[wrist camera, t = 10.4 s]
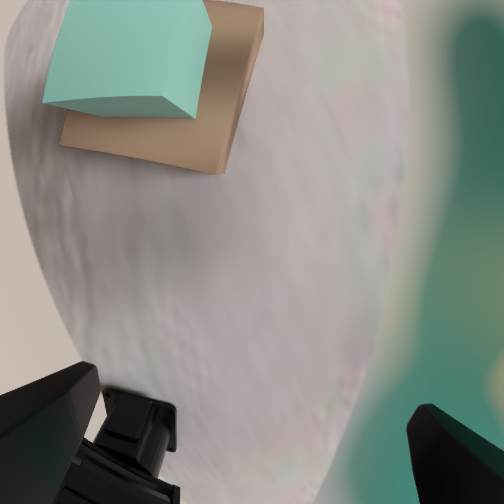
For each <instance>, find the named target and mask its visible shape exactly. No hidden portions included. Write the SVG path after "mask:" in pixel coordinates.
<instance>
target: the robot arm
mask: <svg viewBox="0 0 504 504" xmlns="http://www.w3.org/2000/svg"><path fill="white" fill-rule="evenodd" d="M108 393H109V394H108ZM99 395H100V382H99V376H98V370H97V367H96V366H95V365H94V364H91V363H88V362H85V361H81V362H79V363H76V364H74V365H72V366H69V367H67V368H65V369H63V370H60V371H58V372H56V373H53V374H51V375H48V376H46V377H44V378H41V379H39V380H36V381H34V382H32V383H30V384H27V385H24V386H22V387H20V388H17V389H15V390H12V391H10V392H7V393H5V394H2V395H0V504H180V487H178V486H176V485H171V484H169V483H167V482H164V481H162V480H160V479H158V475H159V472H160V469H161V465H162V462H163V459H164V456H165V452H166V451H169V452H175V451H176V448H177V410H176V408H175V406H173V405H170V404H166V403H161V402H157V401H153V400H149V399H145V398H141V397H138V396H134V395H130V394H127V393H123V392H120V391H117V390H113V389H110V388H105V389H104V391H103V398H104V403H105V408H106V413H107V417H106V419H105V421H104V423H103V425H102V426H101V428H100V430H99V432H98V434H97V436H96V437H95V439H94V441H93V443H92V442H90V441H88V440H87V439H86V438H84V434H85V432H86V429H87V427H88V424H89V421H90V419H91V416H92V413H93V411H94V408H95V405H96V403H97V400H98V397H99ZM170 410H171V411H170ZM406 431H407V437H408V444H409V450H410V457H411V465H412V471H413V475H414V480H415V484H416V489H417V493H418V497H419V502H420V504H504V451H503V450H501V449H500V448H498V447H497V446H495V445H494V444H492V443H490V442H489V441H487V440H486V439H484V438H483V437H481V436H480V435H478V434H477V433H475V432H474V431H472V430H471V429H469V428H468V427H466V426H465V425H463V424H462V423H460V422H459V421H457V420H455V419H454V418H453V417H451V416H450V415H448V414H447V413H445V412H444V411H442V410H441V409H439V408H438V407H436V406H435V405H433V404H421V405H419V406H418V407H417V409H416V410H415V412H414V414H413V415H412V417H411V419H410V420H409V422H408V424H407V429H406Z"/></svg>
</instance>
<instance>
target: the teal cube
mask: <svg viewBox="0 0 504 504" xmlns="http://www.w3.org/2000/svg"><path fill="white" fill-rule="evenodd" d="M211 30H212V25H211V22H210V19H209V17H208V14H207V11H206V9H205V6H204V3H203V1H202V0H70V3H69V5H68V8H67V11H66V13H65V16H64V19H63V22H62V25H61V28H60V31H59V34H58V38H57V41H56V44H55V48H54V52H53V55H52V59H51V63H50V67H49V71H48V76H47V80H46V85H45V90H44V95H43V100H42V103H43V104H48V105H53V106H57V107H62V108H66V109H71V110H75V111H79V112H83V113H87V114H92V115H96V116H99V117H166V118H186V119H196V112H197V106H198V100H199V94H200V88H201V82H202V76H203V71H204V65H205V60H206V55H207V50H208V45H209V40H210V35H211Z"/></svg>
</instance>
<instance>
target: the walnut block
mask: <svg viewBox="0 0 504 504" xmlns="http://www.w3.org/2000/svg"><path fill="white" fill-rule="evenodd" d="M202 1H203V3H204V6H205V9H206V11H207V14H208V17H209V19H210V22H211V25H212V30H211V35H210V40H209V45H208V50H207V55H206V60H205V65H204V71H203V76H202V82H201V88H200V94H199V100H198V106H197V112H196V119H186V118H166V117H99V116H96V115H92V114H87V113H83V112H79V111H75V110H71V109H67V113H66V117H65V121H64V126H63V130H62V135H61V140H60V145H61V146H68V147H74V148H81V149H87V150H93V151H100V152H105V153H111V154H117V155H122V156H128V157H133V158H139V159H144V160H149V161H154V162H159V163H164V164H168V165H173V166H178V167H183V168H187V169H192V170H196V171H200V172H205V173H209V174H213V175H218V174H225V170H226V166H227V162H228V158H229V154H230V150H231V147H232V143H233V139H234V135H235V132H236V128H237V124H238V121H239V117H240V113H241V110H242V106H243V103H244V99H245V96H246V92H247V89H248V85H249V82H250V78H251V75H252V72H253V68H254V65H255V62H256V58H257V55H258V52H259V49H260V45H261V42H262V39H263V36H264V8H261V7H255V6H250V5H244V4H237V3H230V2H222V1H213V0H202Z"/></svg>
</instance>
